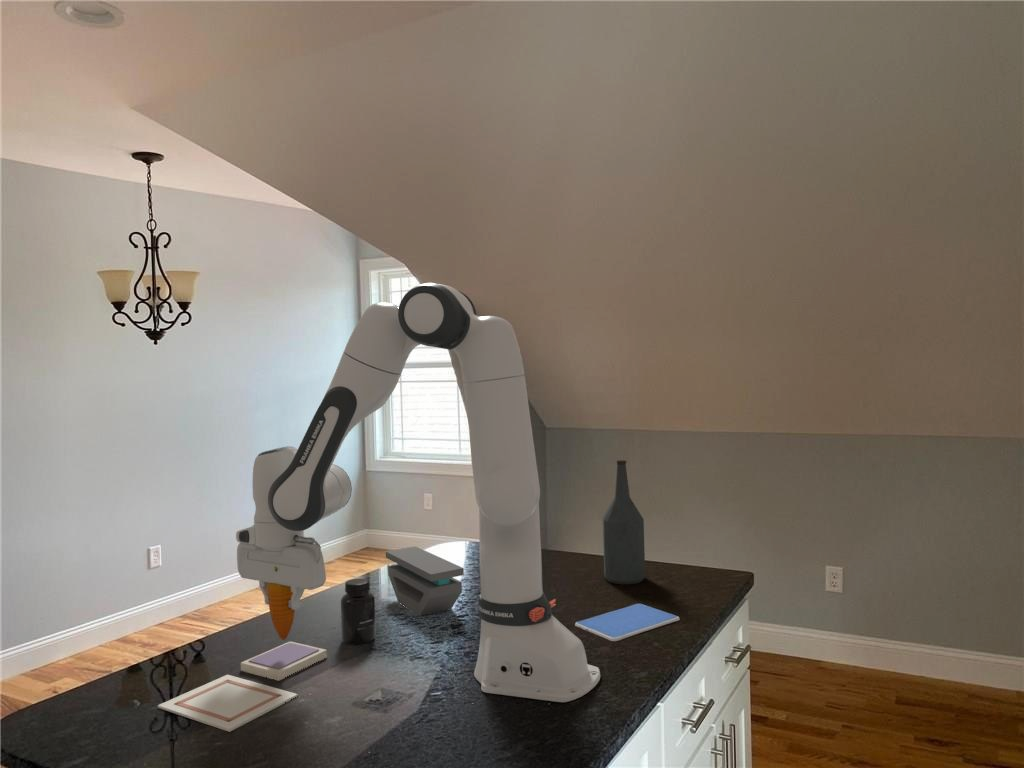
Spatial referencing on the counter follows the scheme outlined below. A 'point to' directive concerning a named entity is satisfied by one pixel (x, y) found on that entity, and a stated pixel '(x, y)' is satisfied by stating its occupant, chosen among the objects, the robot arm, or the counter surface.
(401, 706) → the counter surface
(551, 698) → the robot arm
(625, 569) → the bottle
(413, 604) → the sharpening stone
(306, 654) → the ink pad
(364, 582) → the supplement bottle
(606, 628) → the tablet computer
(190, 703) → the print card
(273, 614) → the carrot
